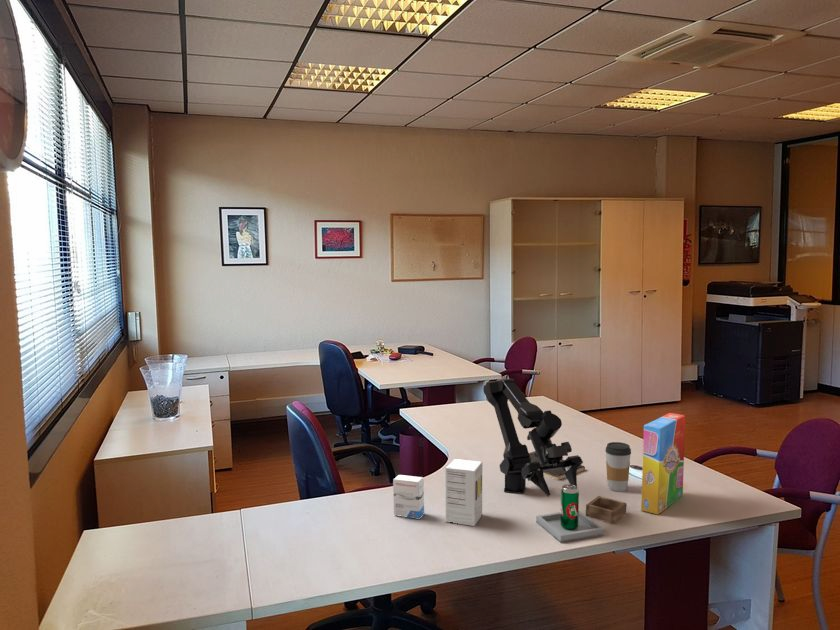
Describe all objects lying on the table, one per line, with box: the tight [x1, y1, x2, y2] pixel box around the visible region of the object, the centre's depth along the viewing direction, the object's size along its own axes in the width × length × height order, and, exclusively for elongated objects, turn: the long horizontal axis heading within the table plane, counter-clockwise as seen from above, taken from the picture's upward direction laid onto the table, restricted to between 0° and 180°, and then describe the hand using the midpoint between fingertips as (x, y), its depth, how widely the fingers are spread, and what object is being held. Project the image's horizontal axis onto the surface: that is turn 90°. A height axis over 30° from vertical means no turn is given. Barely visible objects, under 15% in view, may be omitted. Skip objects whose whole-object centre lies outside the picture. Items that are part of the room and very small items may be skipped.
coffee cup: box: [605, 441, 632, 493], centre depth 213 cm, size 8×8×15 cm
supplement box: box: [444, 458, 483, 527], centre depth 191 cm, size 10×9×17 cm
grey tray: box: [535, 510, 605, 544], centre depth 183 cm, size 14×14×2 cm
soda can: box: [560, 483, 580, 530], centre depth 183 cm, size 5×5×12 cm
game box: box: [640, 412, 686, 515], centre depth 200 cm, size 21×6×27 cm, turn 137°
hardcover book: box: [529, 450, 586, 481], centre depth 236 cm, size 16×23×2 cm
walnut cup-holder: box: [585, 495, 628, 525], centre depth 193 cm, size 9×9×4 cm
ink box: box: [392, 474, 425, 519], centre depth 194 cm, size 8×5×12 cm, turn 71°
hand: (562, 493), depth 186 cm, fingers open, 9 cm apart
